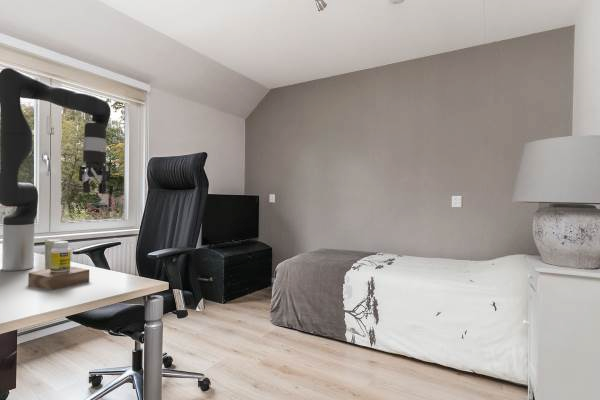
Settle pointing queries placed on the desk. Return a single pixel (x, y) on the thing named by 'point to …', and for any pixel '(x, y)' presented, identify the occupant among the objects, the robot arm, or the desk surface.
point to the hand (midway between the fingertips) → (94, 193)
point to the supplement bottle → (60, 257)
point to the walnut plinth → (58, 278)
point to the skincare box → (49, 251)
